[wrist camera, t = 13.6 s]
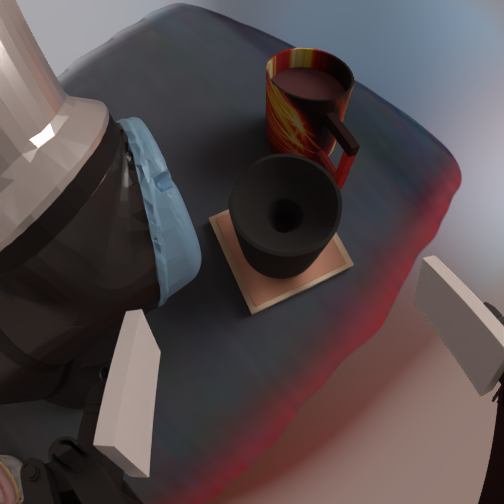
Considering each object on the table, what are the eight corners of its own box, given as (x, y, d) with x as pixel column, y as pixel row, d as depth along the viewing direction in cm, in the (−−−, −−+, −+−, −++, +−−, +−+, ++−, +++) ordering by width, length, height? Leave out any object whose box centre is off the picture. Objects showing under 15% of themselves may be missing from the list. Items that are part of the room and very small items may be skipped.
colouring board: (251, 314, 34) (251, 313, 32) (210, 221, 37) (208, 217, 36) (350, 267, 35) (354, 264, 34) (303, 183, 38) (304, 177, 37)
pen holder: (336, 262, 34) (363, 229, 24) (257, 297, 33) (255, 275, 23) (299, 192, 36) (310, 141, 27) (224, 221, 36) (212, 175, 26)
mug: (336, 197, 38) (361, 139, 26) (250, 139, 41) (247, 74, 29) (372, 151, 40) (400, 93, 28) (292, 102, 43) (299, 39, 31)
